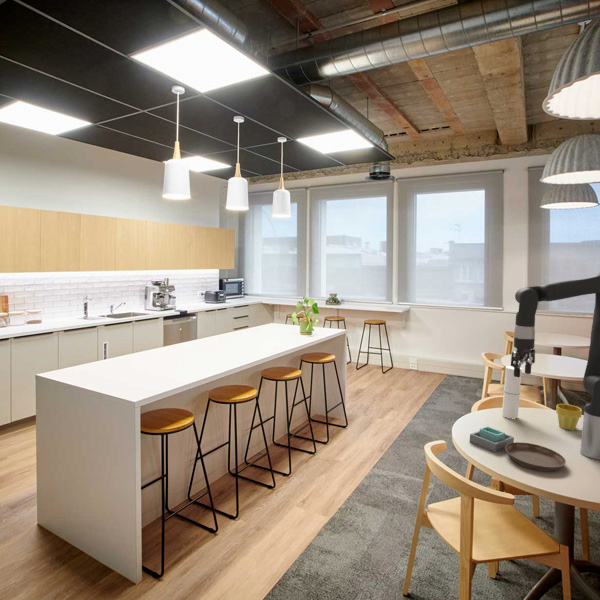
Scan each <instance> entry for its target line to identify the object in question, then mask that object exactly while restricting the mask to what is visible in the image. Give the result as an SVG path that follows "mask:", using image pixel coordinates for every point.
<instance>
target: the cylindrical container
mask: <svg viewBox="0 0 600 600" xmlns="http://www.w3.org/2000/svg"><path fill="white" fill-rule="evenodd" d="M522 370H523V368H522V367H520V377H515V376H514V367H512V366H511V365H506V366H505V373H504V374H505V375H504V384H503V386H504V387H503V398H502V409H501V410H502V411H501V416H502V417H503V416H504V417H503V418H505V417H507V418H506V419H508V418H513V419H512V420H515V419H514V418H517V419H518V418H519V406H520V397H521V396H520V395H521V385H522V384H521V382H522V381H521V380H522V372H523V371H522Z"/></svg>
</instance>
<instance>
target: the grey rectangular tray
mask: <svg viewBox="0 0 600 600" xmlns="http://www.w3.org/2000/svg"><path fill="white" fill-rule="evenodd" d="M479 434H480V430H478V431H475V432H472V433H470V434H469V443H471V444H474V445H475V446H478V447H480V448H482V449H483V448H484V449H486V450H487V451H490V452H493V453H497V452H500V451H502V450H506V449H505V447H506V445H507V444H510V443H515V442H514V439H515V436H512V435H509V434H506V433H505V438H504V440H502V441H499V442H496V443H494V442H491V441H489V440H486V439H484V438H481V437H479Z"/></svg>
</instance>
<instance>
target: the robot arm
mask: <svg viewBox="0 0 600 600" xmlns="http://www.w3.org/2000/svg"><path fill="white" fill-rule="evenodd" d="M592 294H593V295H594V294H595V301H594V302H595V303H594V311H593V316H592V325H591V332H590V340H589V341H590V342H589V348H588V349H589V350H588V357H587V362H586V367H585V371H584V374H583V379H582V386H583V389H584V390H585V391H586V392H587V393H588V394H590V395H592V397H591V401H590V403H586V404H585V405H584V407H583V408H584V409H583V410H584V411H583V421H582V427H581V428H582V430H581V441H580V450H579V451H580V454H582V455H583V456H585V457H588V458H591V459H593V460H598V461H599V460H600V272H598V274H597V275H596V276H592V277H589V278H583V279H582V278H580V279H573V280H563V281H557V282H552V283H547V284H542V285H536V286H535V285H533V286H527V287H526V286H525V287H522V288H519V289H518V290H517V291H516V292H515V294H514V298H515V301H516V302H517V303H518V311H517V313H516V315H515V325H514V334H513V335H514V336H513V347H514V348H515V349H516V351H511V356H510V357H511V358H510V366H512V367H514V376H515V377H520V368H522V365H523V364H524V373H525V374H527V375H530V374H531V373H532V366H533V364H535V361H536V349H535V341H536V330H535V328H536V327H535V325H536V313H537V309H538V305H539V303H541V302H553V301H554V302H555V301H560V300H565V299H569V298H574V297H579V296H586V295H592Z"/></svg>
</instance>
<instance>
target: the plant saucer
mask: <svg viewBox="0 0 600 600" xmlns="http://www.w3.org/2000/svg"><path fill="white" fill-rule="evenodd" d="M504 450H505V451H506V453H507V454H508V456H509V458H511V460H513V461H514V462H515V463H517V464H518V465H520V466H522V467H525V468H528V469H531V470H535V471H541V472H555V471H557V470H559V469H561V468H563V467H564V466H565V465H566V463H567V461H566V458H565V457H564V456H563V455H562V454H560V453H559V452H557V451H555V450H553V449H551V448H548V447H545V446H543V445H540V444H534V443H529V442H523V441H522V442H519V441H517V442H516V441H515V442H514V443H510V444H507V445H506V447H505V449H504Z"/></svg>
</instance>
